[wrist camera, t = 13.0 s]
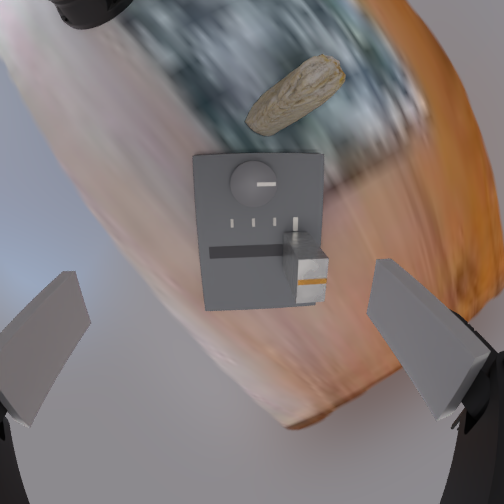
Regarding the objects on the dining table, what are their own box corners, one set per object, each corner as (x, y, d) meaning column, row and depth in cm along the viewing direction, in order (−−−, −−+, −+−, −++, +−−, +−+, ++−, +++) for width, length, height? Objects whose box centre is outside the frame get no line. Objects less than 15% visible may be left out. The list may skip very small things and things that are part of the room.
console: (206, 302, 46) (204, 319, 42) (195, 155, 38) (189, 156, 33) (311, 297, 47) (319, 313, 42) (318, 153, 38) (329, 154, 34)
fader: (282, 268, 42) (296, 304, 32) (283, 232, 40) (298, 260, 30) (305, 267, 42) (324, 301, 32) (307, 231, 40) (329, 258, 30)
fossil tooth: (238, 114, 37) (315, 57, 33) (266, 146, 39) (342, 88, 34) (228, 105, 26) (332, 31, 22) (267, 147, 28) (369, 73, 24)
